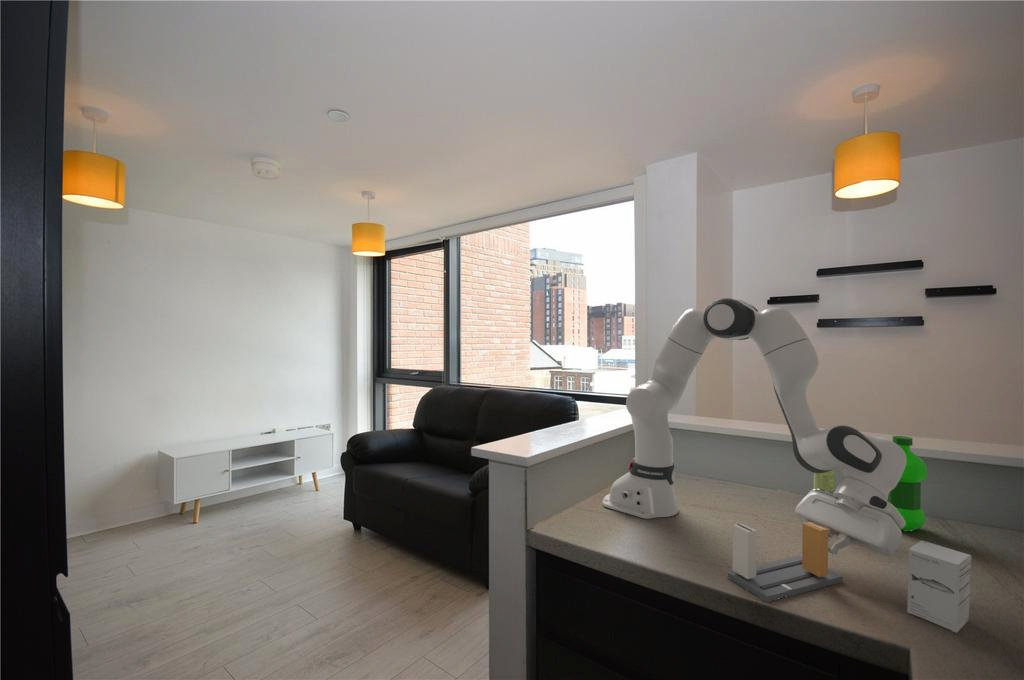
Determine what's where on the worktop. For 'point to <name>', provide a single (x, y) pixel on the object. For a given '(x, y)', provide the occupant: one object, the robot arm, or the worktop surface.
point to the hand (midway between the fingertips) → (826, 550)
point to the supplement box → (939, 585)
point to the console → (783, 579)
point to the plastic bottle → (909, 487)
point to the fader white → (744, 550)
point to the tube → (825, 481)
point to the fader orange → (815, 549)
